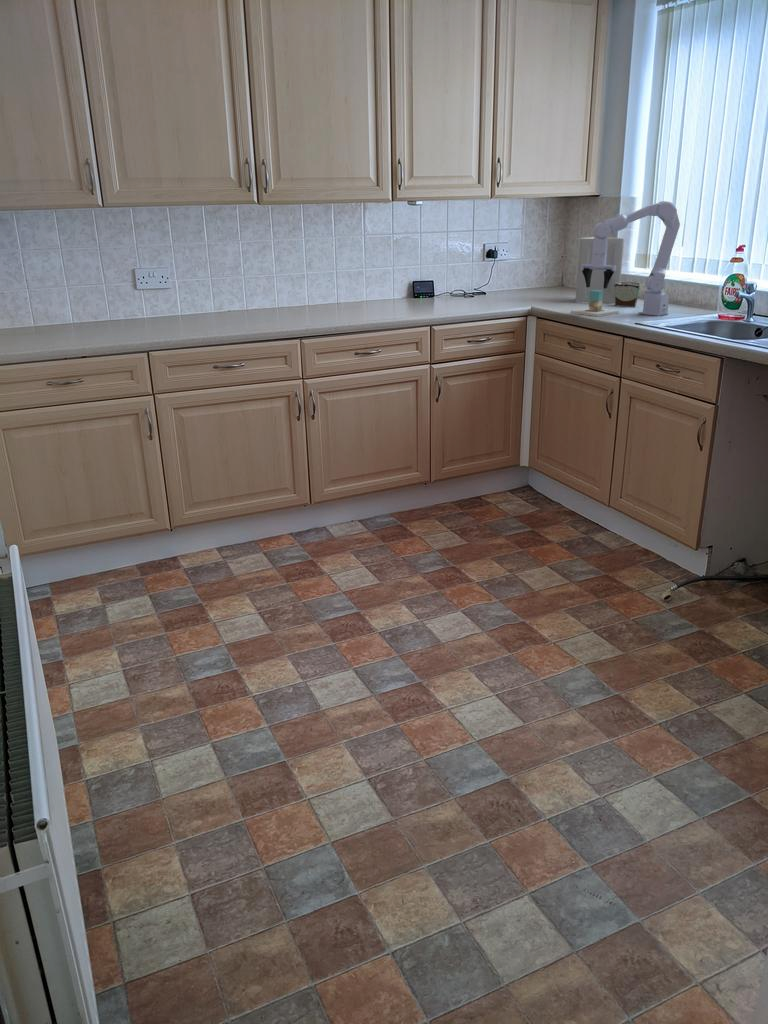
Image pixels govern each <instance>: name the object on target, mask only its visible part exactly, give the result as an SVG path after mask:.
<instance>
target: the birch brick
mask: <svg viewBox="0 0 768 1024" xmlns="http://www.w3.org/2000/svg"><path fill="white" fill-rule="evenodd" d="M588 308H589V310H590V311H600V310H602V309H603V303H602V301H589V303H588Z"/></svg>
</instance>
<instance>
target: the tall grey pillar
mask: <svg viewBox="0 0 768 1024" xmlns="http://www.w3.org/2000/svg"><path fill="white" fill-rule="evenodd" d="M593 242H594V236H589V237H580V238H579V249H578V262H577V274H576V287H575V299H574V300H575V301H576V302H589V298H590V291H592V290H601V291H603V297H602V304H615V287H614V284H615V282H622V280H621V278H622V268H623V257H624V248H625V247H624V246H625V238H623V237H613V236H608V239H607V242H608V245H607V256H606V265H614V266H616V270H615V271H614V273H613V275H612V277H611V279H610V281H609V283H608V287H607V288H606V289H604V271H606V270H594V269H593V271H592V275H591V283H590V287H586V281H585V277H584V275H583V273H582V270H584V269H581V264H592V254H593ZM595 268H596V267H595ZM601 269H603V268H601ZM604 269H605V268H604ZM576 302H575V303H576Z"/></svg>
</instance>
